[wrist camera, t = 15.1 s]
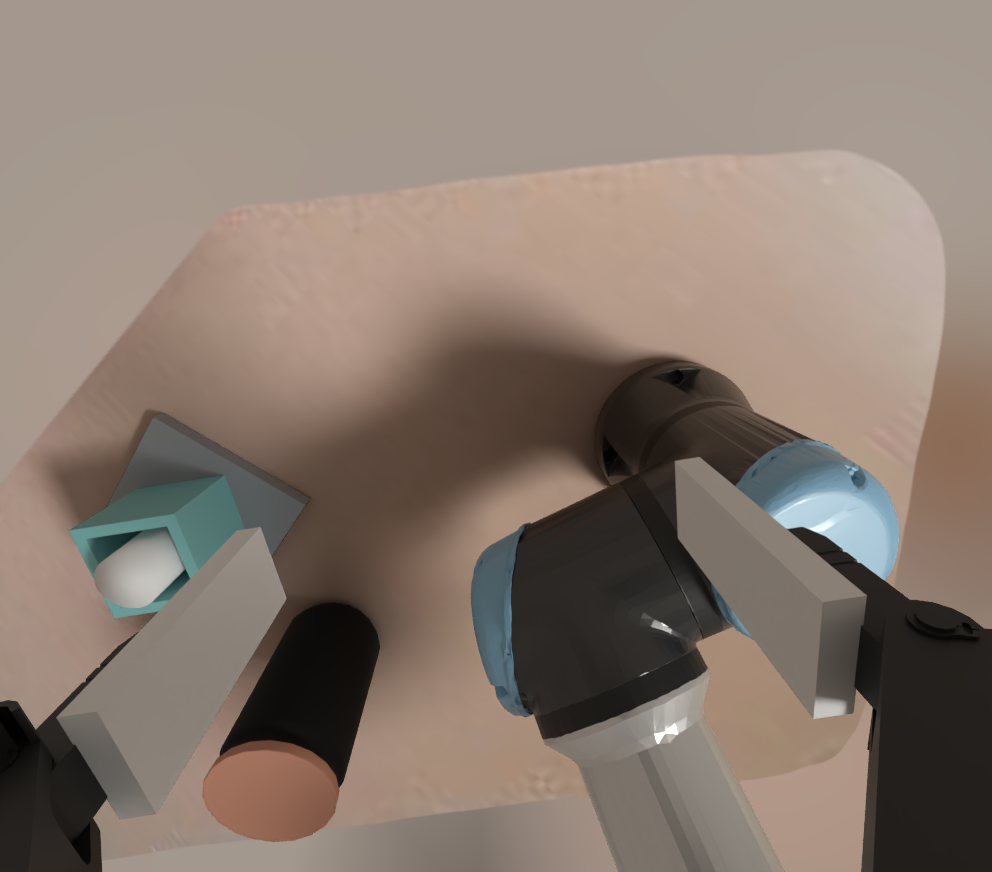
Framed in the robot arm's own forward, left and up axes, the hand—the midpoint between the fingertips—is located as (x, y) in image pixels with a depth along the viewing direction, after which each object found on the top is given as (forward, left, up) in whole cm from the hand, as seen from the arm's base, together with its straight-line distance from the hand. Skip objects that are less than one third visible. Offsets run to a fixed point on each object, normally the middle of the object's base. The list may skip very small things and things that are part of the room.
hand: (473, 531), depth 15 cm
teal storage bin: (+14, +30, -30) cm, 45 cm away
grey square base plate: (+14, +30, -32) cm, 46 cm away
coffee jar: (-5, +36, -32) cm, 48 cm away
